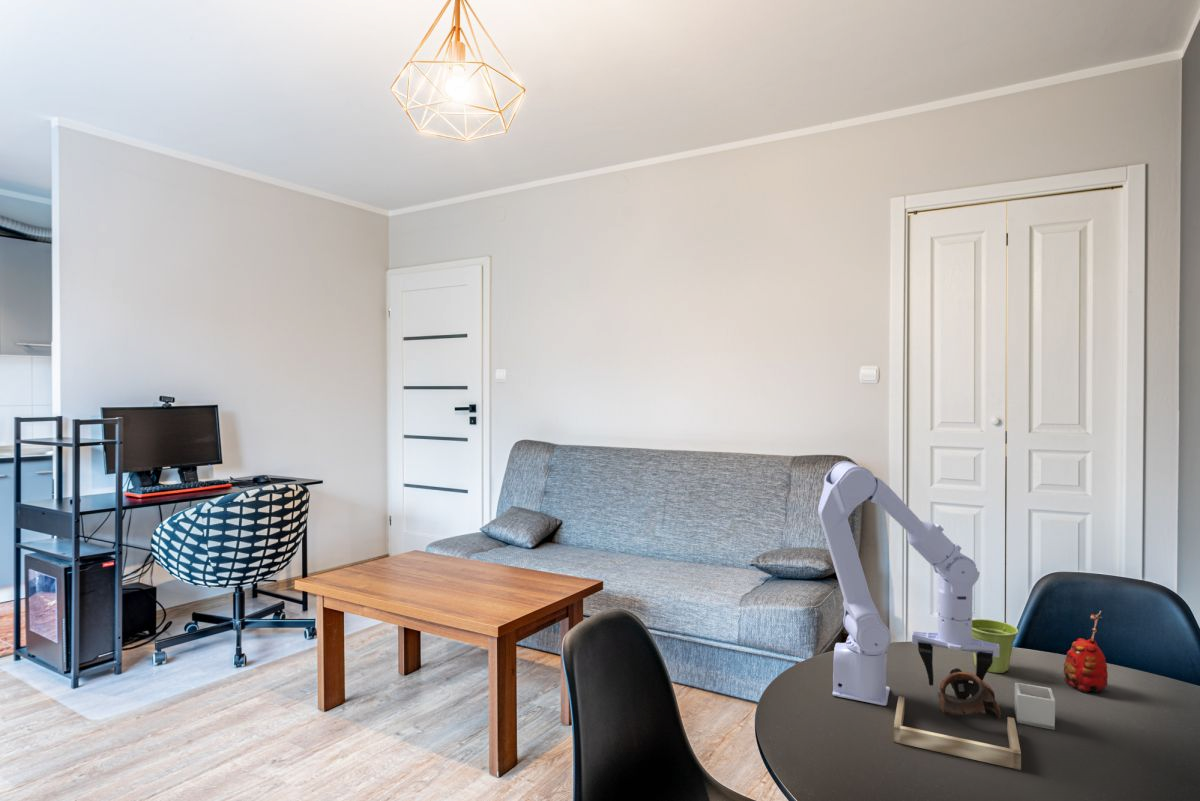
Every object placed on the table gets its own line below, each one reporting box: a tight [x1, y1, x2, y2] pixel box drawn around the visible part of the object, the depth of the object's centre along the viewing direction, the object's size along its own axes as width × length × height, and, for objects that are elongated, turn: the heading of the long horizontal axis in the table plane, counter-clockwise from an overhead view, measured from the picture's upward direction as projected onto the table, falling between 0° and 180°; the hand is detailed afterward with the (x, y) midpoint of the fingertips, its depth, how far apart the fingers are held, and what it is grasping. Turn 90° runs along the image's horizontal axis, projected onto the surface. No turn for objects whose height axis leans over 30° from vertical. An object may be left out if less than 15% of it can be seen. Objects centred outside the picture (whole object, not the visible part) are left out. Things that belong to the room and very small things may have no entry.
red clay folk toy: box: [1063, 610, 1109, 693], centre depth 133 cm, size 8×7×15 cm
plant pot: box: [972, 618, 1019, 674], centre depth 142 cm, size 9×9×9 cm
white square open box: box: [1013, 682, 1056, 731], centre depth 120 cm, size 6×6×5 cm
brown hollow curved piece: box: [939, 667, 1001, 719], centre depth 124 cm, size 12×10×8 cm
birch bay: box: [892, 695, 1022, 771], centre depth 114 cm, size 18×12×2 cm
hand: (953, 687), depth 129 cm, fingers open, 7 cm apart
